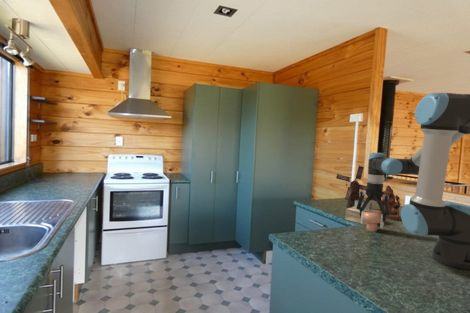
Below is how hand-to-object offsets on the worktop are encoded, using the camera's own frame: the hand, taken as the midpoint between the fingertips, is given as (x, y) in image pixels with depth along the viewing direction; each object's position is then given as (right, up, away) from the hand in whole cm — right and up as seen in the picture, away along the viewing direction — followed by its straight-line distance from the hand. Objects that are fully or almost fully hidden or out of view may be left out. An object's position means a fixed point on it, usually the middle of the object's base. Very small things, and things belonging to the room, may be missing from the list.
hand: (371, 225), depth 149 cm
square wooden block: (+3, -1, +18) cm, 19 cm away
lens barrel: (+3, +5, +18) cm, 19 cm away
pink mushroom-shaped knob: (0, -2, 0) cm, 2 cm away
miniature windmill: (+9, 0, +47) cm, 48 cm away
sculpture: (+24, -2, +27) cm, 36 cm away
